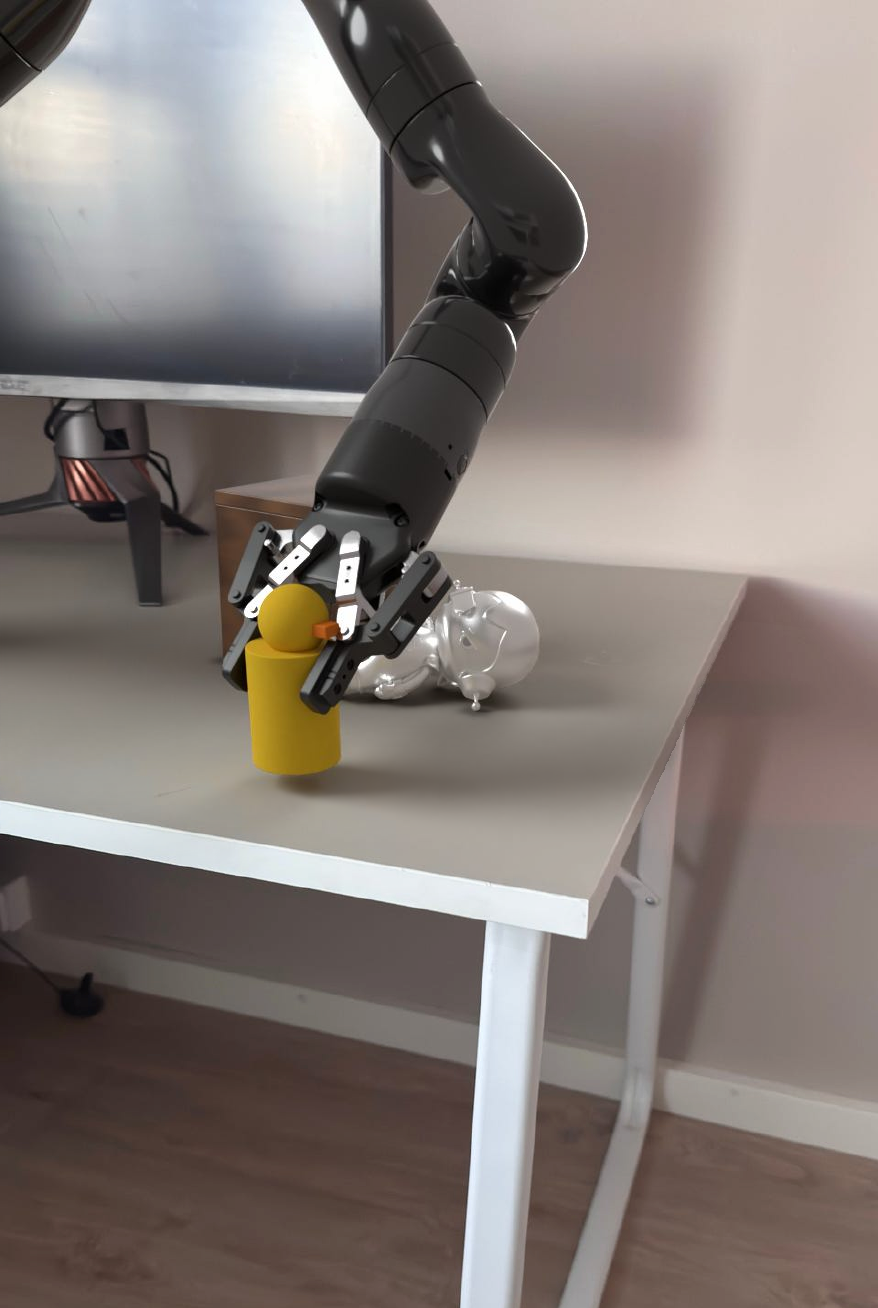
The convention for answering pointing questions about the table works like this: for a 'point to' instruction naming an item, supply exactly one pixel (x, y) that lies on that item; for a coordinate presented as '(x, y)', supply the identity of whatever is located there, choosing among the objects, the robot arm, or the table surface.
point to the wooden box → (235, 524)
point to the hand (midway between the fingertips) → (272, 694)
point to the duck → (290, 684)
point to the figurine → (460, 649)
